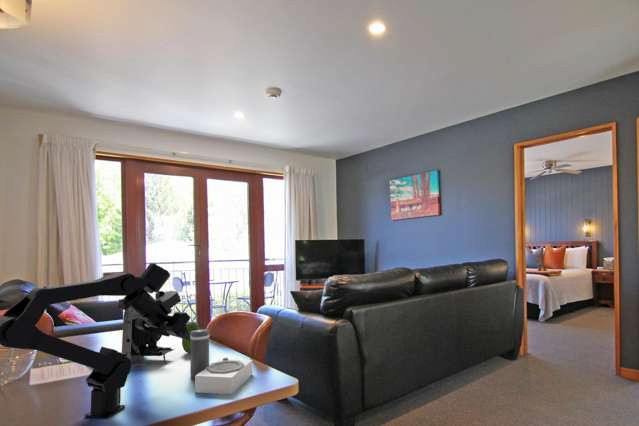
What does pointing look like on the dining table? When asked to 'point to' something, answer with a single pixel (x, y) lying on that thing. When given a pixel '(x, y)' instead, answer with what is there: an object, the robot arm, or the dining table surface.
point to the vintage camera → (139, 339)
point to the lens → (199, 351)
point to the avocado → (191, 327)
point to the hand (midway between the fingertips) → (179, 336)
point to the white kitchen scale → (223, 376)
